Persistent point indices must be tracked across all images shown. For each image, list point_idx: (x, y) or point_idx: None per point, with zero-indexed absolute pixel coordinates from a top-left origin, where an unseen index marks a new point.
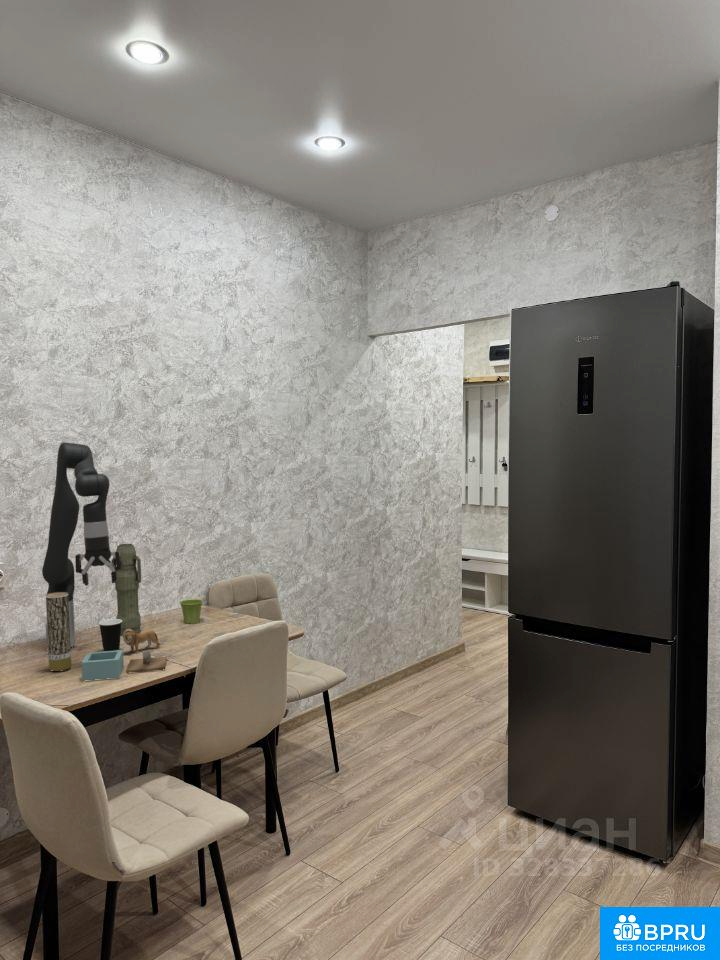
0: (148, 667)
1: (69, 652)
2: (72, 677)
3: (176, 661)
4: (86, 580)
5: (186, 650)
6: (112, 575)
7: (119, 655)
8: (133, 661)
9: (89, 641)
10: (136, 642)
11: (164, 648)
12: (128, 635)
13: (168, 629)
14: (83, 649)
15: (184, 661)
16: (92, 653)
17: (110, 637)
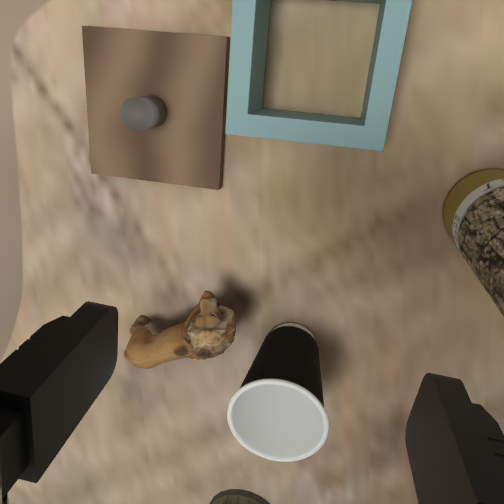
0: (142, 47)
1: (464, 211)
2: (444, 68)
3: (62, 133)
4: (449, 415)
5: (47, 254)
6: (44, 357)
7: (235, 36)
8: (205, 158)
9: (365, 490)
10: (194, 312)
11: (120, 308)
12: (209, 313)
13: (129, 493)
14: (387, 416)
15: (34, 121)
16: (361, 128)
17: (285, 351)
